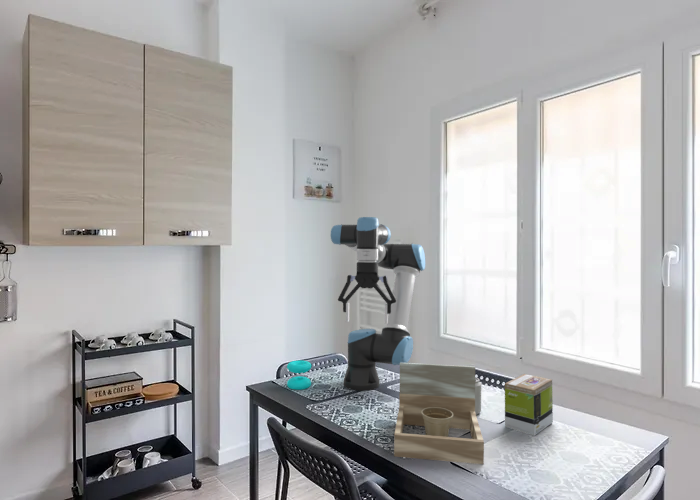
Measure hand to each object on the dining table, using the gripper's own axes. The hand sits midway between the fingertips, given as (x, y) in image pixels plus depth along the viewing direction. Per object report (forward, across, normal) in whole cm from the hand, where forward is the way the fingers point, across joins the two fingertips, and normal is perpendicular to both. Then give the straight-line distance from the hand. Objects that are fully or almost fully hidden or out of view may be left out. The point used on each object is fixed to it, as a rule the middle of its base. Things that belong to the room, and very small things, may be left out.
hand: (366, 322), depth 154 cm
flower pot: (+32, +24, -18) cm, 44 cm away
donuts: (+32, -31, +23) cm, 50 cm away
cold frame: (+32, +24, -18) cm, 44 cm away
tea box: (+32, +54, 0) cm, 63 cm away
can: (+32, +36, +8) cm, 49 cm away
